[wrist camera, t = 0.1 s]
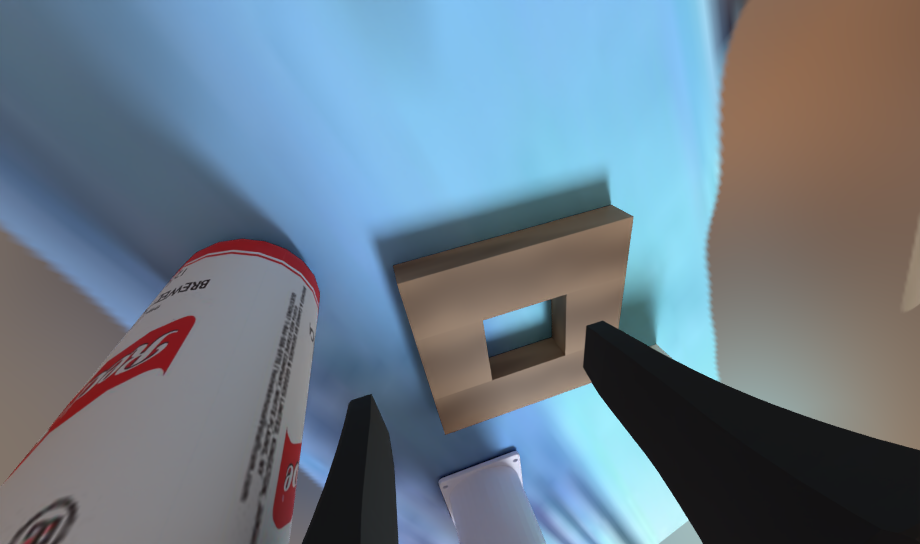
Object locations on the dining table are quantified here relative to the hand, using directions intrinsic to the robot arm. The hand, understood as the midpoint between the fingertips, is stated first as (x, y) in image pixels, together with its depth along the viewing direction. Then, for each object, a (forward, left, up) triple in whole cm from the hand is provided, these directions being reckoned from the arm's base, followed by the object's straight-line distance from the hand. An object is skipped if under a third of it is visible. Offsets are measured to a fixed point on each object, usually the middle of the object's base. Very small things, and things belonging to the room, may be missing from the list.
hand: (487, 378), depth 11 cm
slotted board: (-8, -5, -10) cm, 14 cm away
